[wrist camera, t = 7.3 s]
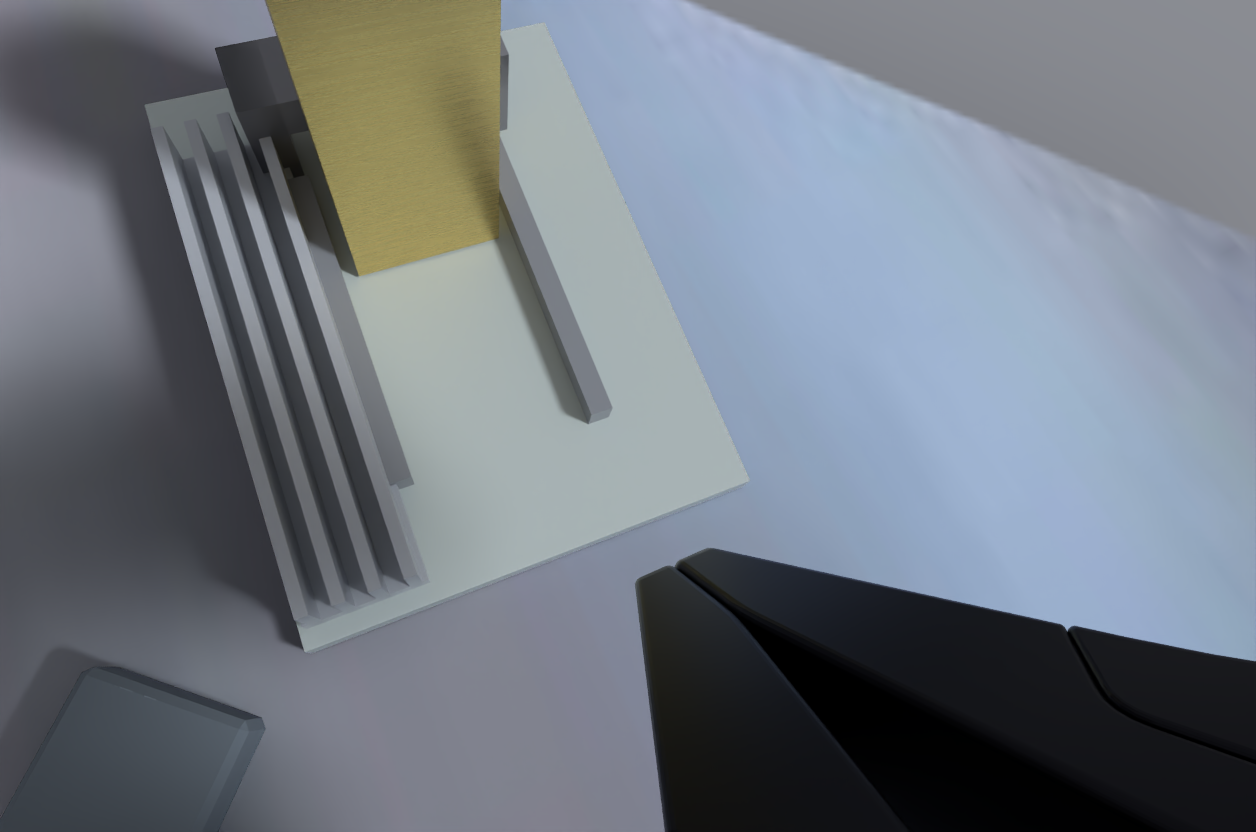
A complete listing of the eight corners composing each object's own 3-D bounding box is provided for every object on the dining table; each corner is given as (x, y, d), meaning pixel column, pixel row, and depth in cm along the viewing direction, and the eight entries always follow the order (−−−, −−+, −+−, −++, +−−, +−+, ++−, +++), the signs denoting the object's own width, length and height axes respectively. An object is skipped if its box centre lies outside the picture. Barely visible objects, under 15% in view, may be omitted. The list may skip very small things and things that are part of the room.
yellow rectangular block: (498, 238, 23) (501, -120, 13) (359, 276, 22) (239, -79, 12) (432, 70, 25) (385, -374, 14) (297, 99, 23) (142, -357, 13)
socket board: (741, 487, 23) (788, 450, 19) (312, 653, 20) (270, 647, 16) (542, 41, 27) (550, -62, 23) (155, 123, 24) (92, 20, 20)
